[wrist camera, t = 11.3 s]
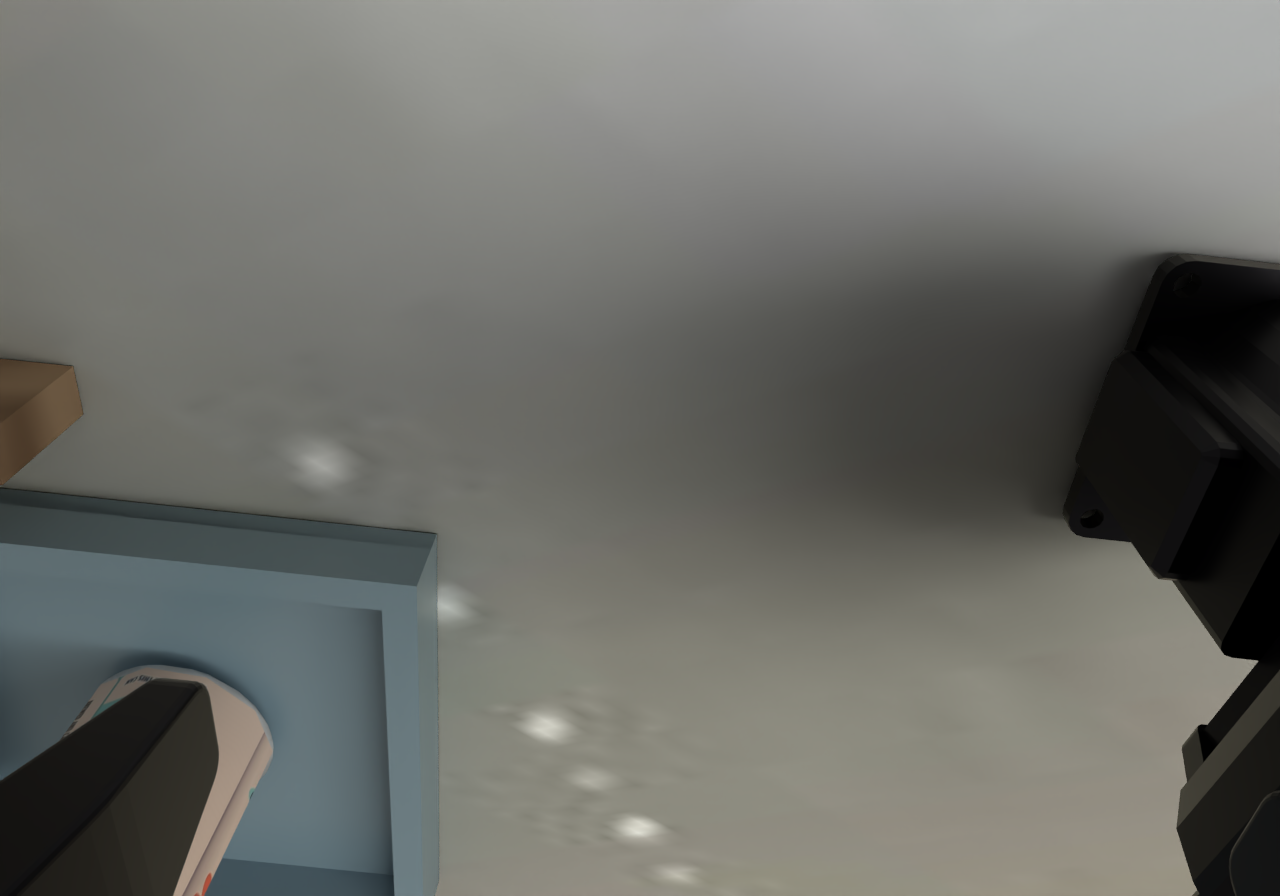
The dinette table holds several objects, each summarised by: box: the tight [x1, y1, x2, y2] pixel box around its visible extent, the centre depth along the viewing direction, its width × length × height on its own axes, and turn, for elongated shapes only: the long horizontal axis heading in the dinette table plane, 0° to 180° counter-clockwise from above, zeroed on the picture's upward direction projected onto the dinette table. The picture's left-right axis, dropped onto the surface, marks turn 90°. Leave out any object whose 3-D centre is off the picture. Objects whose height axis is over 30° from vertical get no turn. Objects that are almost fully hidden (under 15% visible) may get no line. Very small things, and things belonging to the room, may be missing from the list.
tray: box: [0, 488, 439, 896], centre depth 25 cm, size 13×13×2 cm
